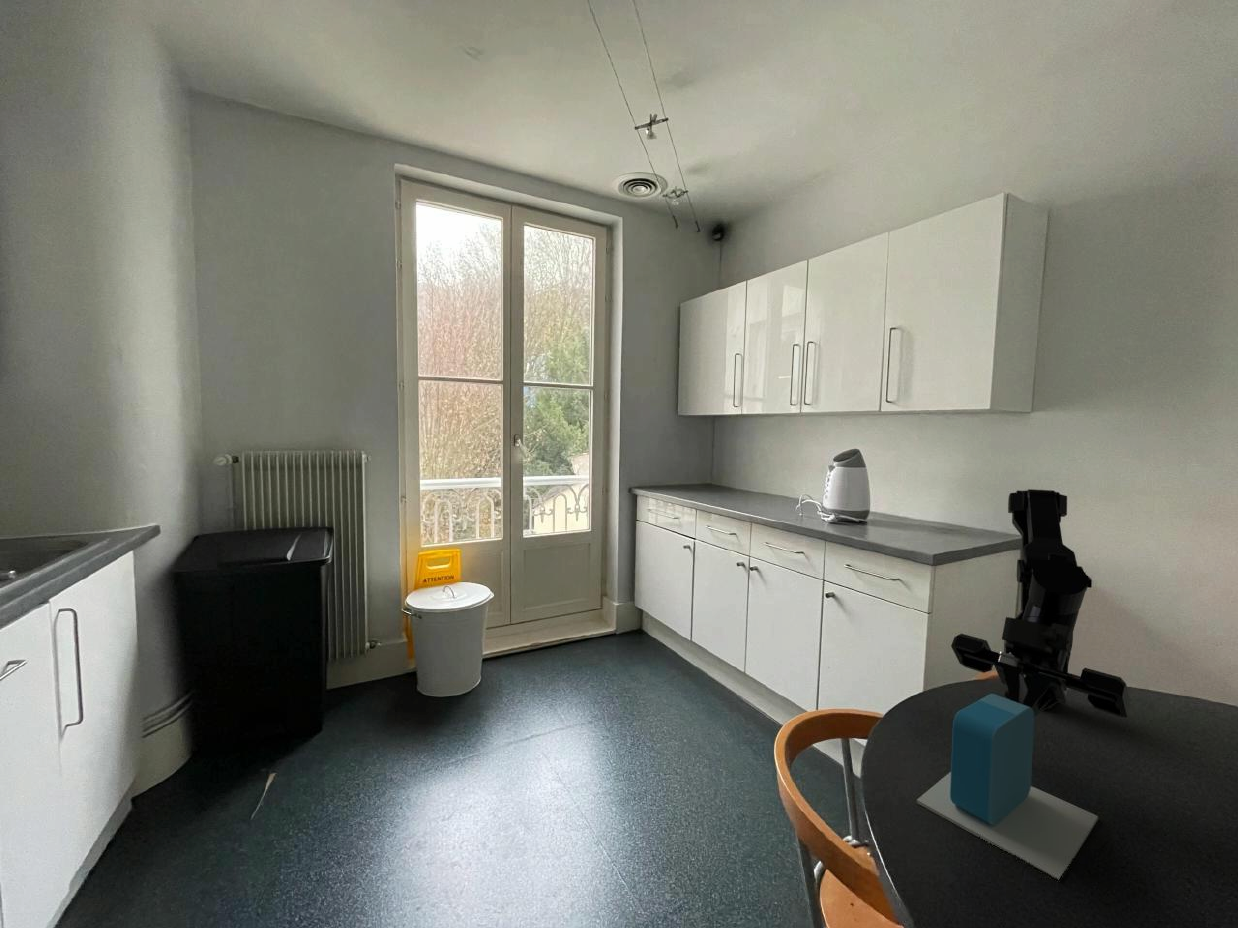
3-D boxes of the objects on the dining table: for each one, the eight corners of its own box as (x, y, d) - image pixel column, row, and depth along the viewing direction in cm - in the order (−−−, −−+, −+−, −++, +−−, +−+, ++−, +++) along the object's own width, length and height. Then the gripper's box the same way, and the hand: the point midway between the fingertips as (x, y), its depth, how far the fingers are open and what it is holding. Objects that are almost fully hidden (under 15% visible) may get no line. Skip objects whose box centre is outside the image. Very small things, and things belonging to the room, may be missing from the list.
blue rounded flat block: (991, 775, 68) (994, 690, 68) (1031, 794, 65) (1035, 704, 64) (948, 806, 62) (952, 713, 62) (990, 830, 58) (994, 730, 58)
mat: (967, 759, 72) (967, 757, 72) (1098, 819, 61) (1098, 816, 61) (916, 802, 63) (916, 799, 63) (1058, 881, 52) (1059, 878, 52)
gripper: (958, 581, 77) (923, 668, 70) (1129, 615, 61) (1103, 730, 55) (976, 622, 81) (945, 706, 75) (1139, 663, 66) (1116, 773, 60)
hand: (1016, 725), depth 66 cm, fingers closed
